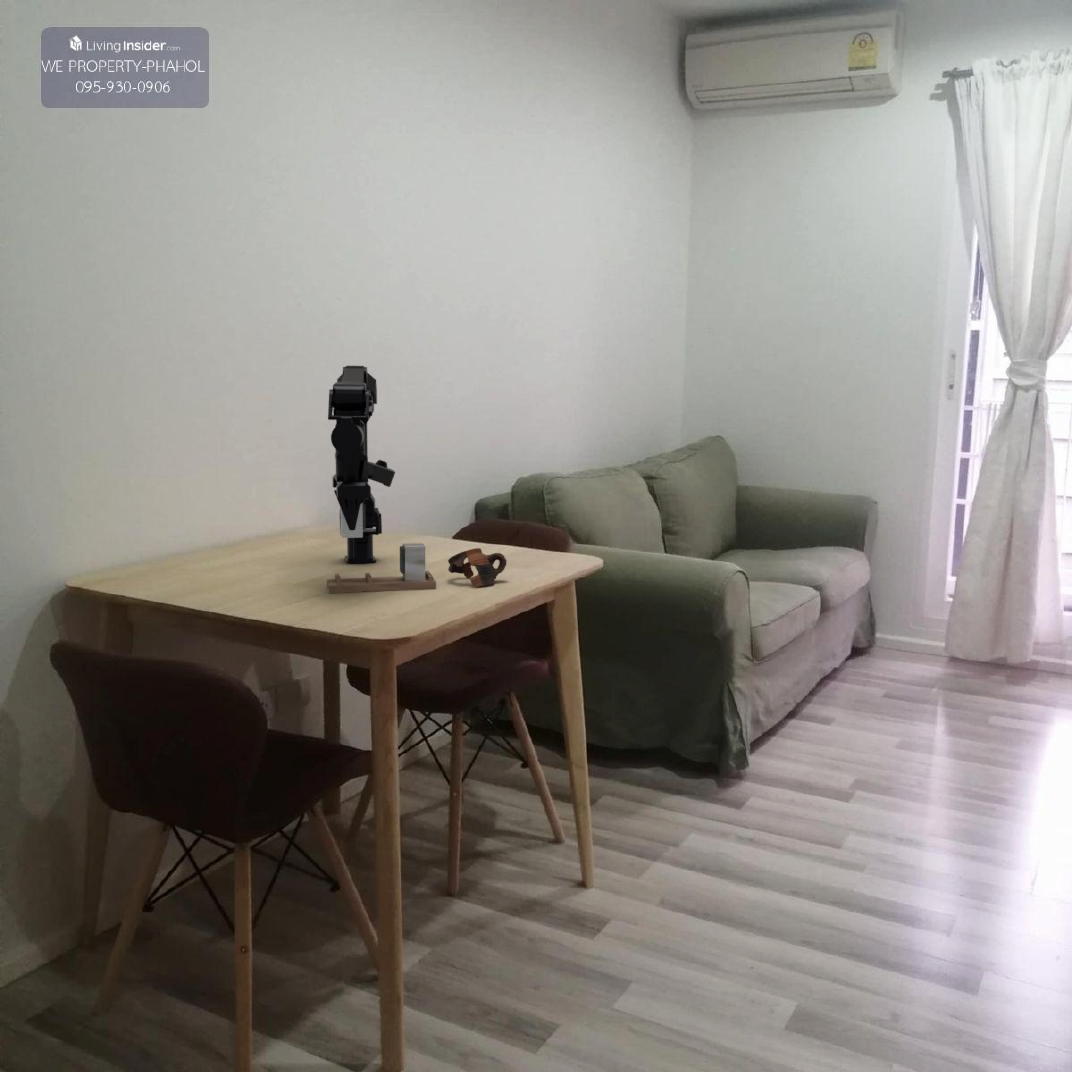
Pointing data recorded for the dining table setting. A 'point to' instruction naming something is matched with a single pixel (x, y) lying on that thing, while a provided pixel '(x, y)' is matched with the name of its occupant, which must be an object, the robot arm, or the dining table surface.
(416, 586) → the rail
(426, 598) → the dining table surface
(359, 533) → the block
